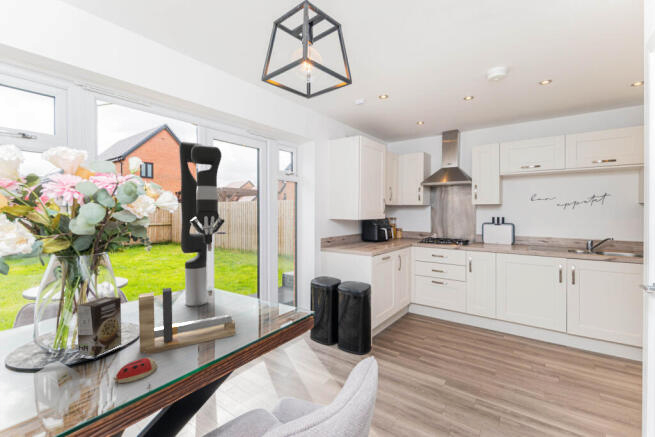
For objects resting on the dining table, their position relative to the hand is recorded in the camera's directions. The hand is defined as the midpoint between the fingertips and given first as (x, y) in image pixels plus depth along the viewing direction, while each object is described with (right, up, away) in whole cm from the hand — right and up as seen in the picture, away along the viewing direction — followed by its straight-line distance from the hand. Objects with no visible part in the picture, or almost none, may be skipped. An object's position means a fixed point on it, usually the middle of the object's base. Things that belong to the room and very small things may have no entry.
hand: (207, 244), depth 112 cm
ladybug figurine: (-5, -33, -33) cm, 47 cm away
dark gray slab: (-7, -30, -16) cm, 34 cm away
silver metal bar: (-1, -28, -12) cm, 31 cm away
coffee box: (-24, -32, -21) cm, 45 cm away
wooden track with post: (-1, -31, -12) cm, 34 cm away
